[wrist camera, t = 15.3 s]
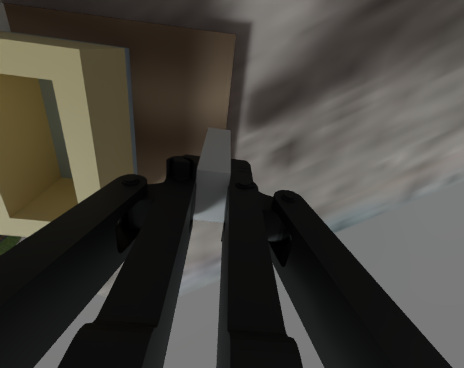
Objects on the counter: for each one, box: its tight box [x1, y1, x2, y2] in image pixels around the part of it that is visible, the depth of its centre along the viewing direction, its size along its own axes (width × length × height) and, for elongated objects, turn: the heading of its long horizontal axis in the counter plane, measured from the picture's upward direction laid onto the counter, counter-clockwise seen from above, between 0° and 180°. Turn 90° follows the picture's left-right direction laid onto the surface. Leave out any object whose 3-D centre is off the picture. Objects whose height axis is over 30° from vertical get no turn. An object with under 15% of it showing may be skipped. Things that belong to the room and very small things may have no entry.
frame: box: [0, 31, 138, 237], centre depth 16 cm, size 11×7×6 cm, turn 173°
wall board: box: [0, 2, 236, 184], centre depth 17 cm, size 13×15×5 cm
